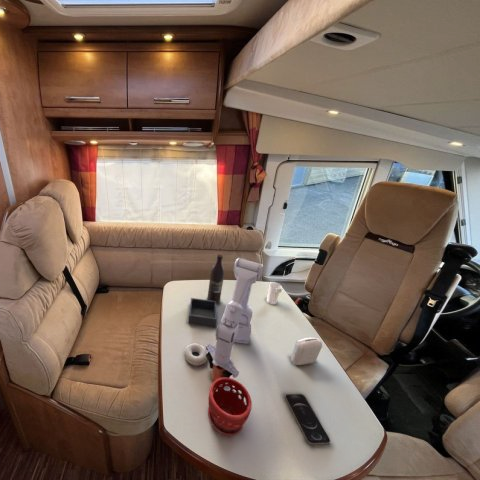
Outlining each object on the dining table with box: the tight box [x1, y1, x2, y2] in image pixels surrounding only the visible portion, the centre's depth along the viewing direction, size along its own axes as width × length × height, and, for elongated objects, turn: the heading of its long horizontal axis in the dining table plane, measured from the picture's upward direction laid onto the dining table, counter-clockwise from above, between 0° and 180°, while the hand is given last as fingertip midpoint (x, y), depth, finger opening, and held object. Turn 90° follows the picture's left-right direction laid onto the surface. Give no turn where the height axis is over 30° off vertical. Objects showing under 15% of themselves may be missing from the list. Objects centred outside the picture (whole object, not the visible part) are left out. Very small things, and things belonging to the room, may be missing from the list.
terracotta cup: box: [210, 364, 225, 382], centre depth 91 cm, size 5×5×8 cm
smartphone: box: [284, 393, 331, 446], centre depth 80 cm, size 8×1×15 cm
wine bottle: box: [206, 254, 225, 306], centre depth 127 cm, size 7×7×30 cm
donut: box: [183, 343, 208, 366], centre depth 100 cm, size 10×3×10 cm
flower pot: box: [207, 377, 253, 437], centre depth 77 cm, size 13×13×12 cm
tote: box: [187, 297, 218, 329], centre depth 122 cm, size 14×14×5 cm
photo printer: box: [290, 337, 323, 366], centre depth 97 cm, size 10×4×12 cm, turn 100°
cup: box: [266, 281, 283, 305], centre depth 132 cm, size 7×7×11 cm
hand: (218, 374), depth 92 cm, fingers open, 6 cm apart
